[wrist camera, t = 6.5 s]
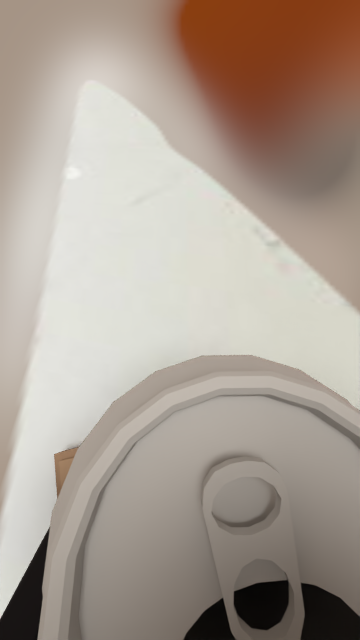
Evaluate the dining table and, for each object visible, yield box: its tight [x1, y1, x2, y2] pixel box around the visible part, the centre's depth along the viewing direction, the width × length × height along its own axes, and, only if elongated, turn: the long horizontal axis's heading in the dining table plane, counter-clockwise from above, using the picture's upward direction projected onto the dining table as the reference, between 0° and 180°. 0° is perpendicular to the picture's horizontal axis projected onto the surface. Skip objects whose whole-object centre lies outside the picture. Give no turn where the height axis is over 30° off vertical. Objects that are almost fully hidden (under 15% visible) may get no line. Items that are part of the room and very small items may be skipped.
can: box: [37, 355, 360, 640], centre depth 9 cm, size 8×8×12 cm
